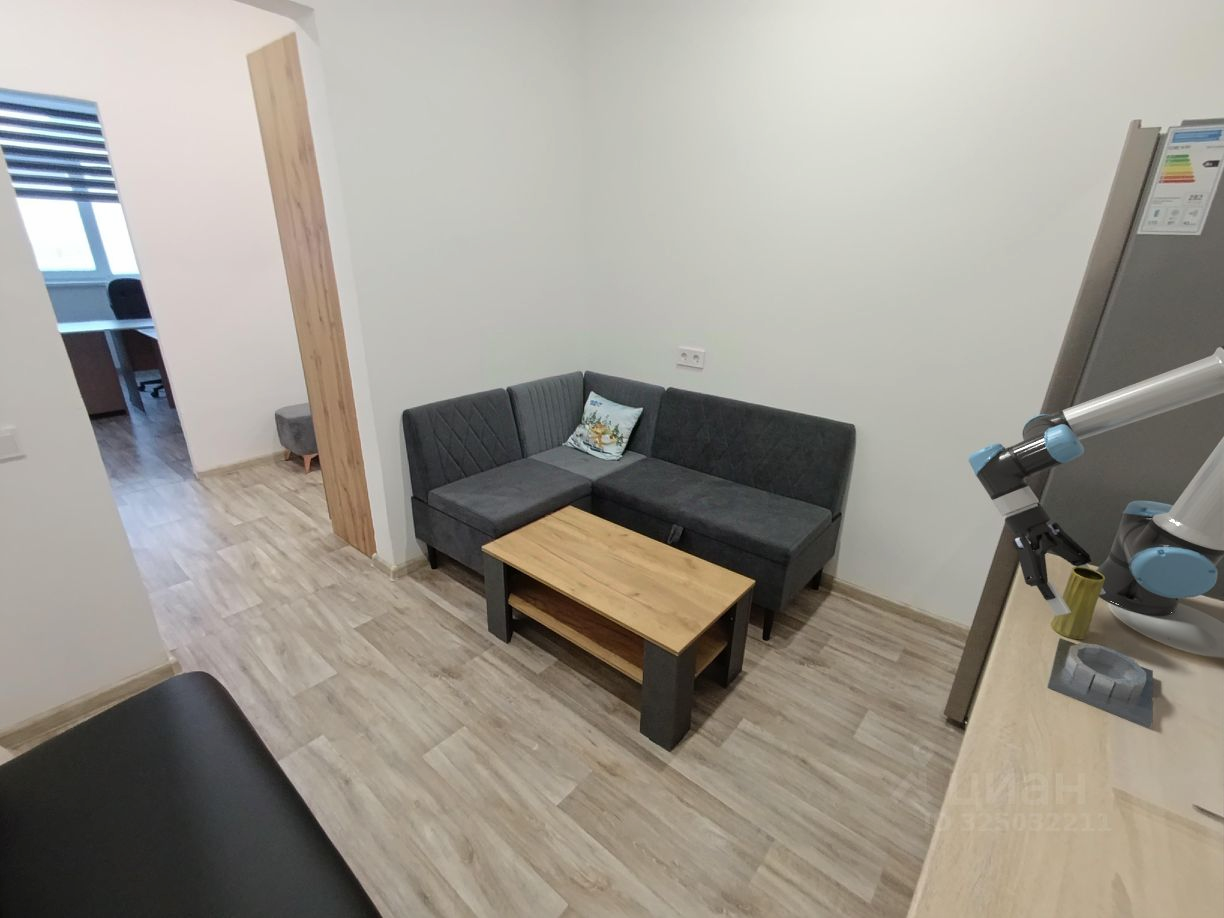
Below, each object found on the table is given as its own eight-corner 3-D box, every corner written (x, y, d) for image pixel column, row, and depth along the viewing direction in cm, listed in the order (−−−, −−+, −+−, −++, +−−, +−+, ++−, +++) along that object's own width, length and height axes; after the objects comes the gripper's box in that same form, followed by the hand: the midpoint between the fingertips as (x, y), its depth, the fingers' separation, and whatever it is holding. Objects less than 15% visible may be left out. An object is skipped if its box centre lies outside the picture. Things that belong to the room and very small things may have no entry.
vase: (1094, 641, 113) (1115, 582, 108) (1061, 638, 114) (1081, 580, 109) (1075, 622, 119) (1095, 566, 113) (1044, 620, 120) (1062, 564, 114)
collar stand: (1057, 643, 112) (1063, 625, 111) (1150, 676, 104) (1158, 658, 102) (1047, 687, 102) (1053, 668, 100) (1149, 728, 93) (1158, 708, 91)
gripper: (1036, 504, 128) (1093, 591, 121) (972, 529, 118) (1029, 625, 111) (1069, 492, 122) (1130, 583, 115) (1003, 517, 112) (1067, 618, 105)
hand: (1081, 604), depth 113 cm, fingers open, 13 cm apart
